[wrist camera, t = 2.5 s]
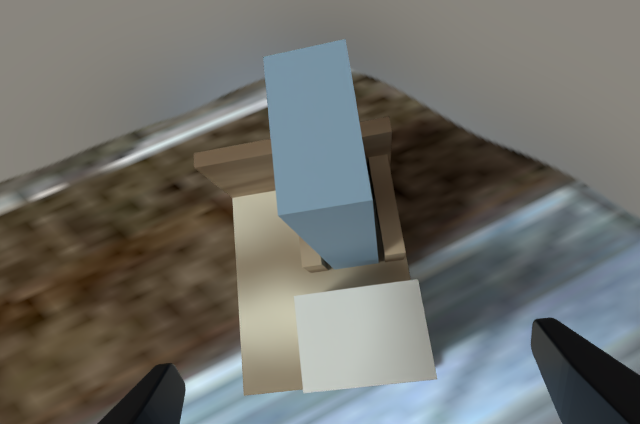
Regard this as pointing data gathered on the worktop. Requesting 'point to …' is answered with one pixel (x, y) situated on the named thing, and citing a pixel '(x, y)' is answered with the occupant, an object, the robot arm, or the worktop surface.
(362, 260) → the blue rectangular block
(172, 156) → the worktop surface
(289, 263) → the stand
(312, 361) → the upper offcut
